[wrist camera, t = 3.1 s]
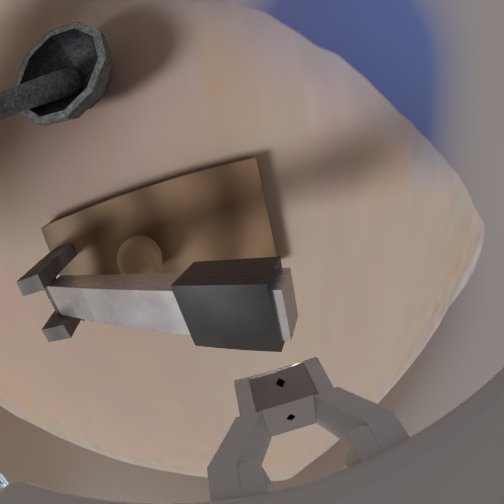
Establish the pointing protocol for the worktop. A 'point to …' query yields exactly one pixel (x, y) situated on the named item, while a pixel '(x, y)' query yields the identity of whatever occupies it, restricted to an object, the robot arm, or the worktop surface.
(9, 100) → the mortar and pestle
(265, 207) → the base
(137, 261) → the smooth brown ball
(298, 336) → the worktop surface
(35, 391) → the worktop surface
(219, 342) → the lever
